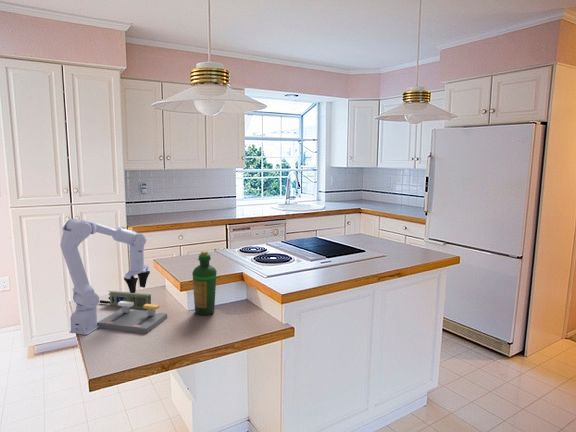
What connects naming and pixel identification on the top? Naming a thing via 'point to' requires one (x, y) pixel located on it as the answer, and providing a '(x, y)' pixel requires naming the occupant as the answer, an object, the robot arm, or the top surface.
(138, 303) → the handheld radio
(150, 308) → the amber switch
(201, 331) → the top surface
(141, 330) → the switch panel
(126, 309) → the white switch
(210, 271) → the bottle
